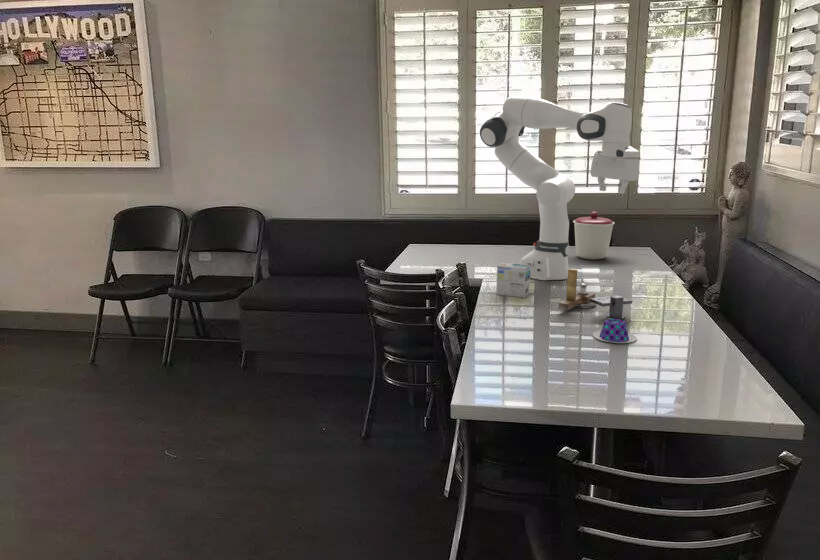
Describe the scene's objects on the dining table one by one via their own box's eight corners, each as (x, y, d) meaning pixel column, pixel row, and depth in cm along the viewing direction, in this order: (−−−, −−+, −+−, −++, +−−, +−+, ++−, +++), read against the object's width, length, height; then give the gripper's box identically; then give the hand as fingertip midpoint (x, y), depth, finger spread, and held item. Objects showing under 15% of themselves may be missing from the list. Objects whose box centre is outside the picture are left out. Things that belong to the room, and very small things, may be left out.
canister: (579, 252, 312) (582, 207, 307) (617, 256, 302) (621, 211, 297) (564, 258, 298) (567, 212, 293) (603, 263, 288) (607, 215, 283)
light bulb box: (530, 293, 236) (531, 264, 233) (524, 298, 230) (526, 268, 227) (501, 290, 240) (502, 261, 238) (495, 294, 234) (496, 265, 232)
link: (578, 296, 226) (580, 262, 223) (594, 299, 222) (597, 265, 219) (553, 307, 212) (555, 271, 209) (570, 311, 208) (573, 274, 206)
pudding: (583, 335, 191) (584, 317, 190) (616, 330, 195) (617, 313, 194) (611, 347, 180) (613, 329, 179) (645, 342, 185) (647, 324, 184)
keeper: (588, 314, 210) (590, 293, 208) (617, 311, 214) (618, 290, 212) (604, 322, 202) (606, 300, 201) (633, 318, 206) (635, 296, 204)
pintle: (564, 305, 221) (565, 284, 219) (574, 299, 228) (575, 279, 226) (590, 309, 216) (592, 288, 214) (599, 303, 223) (601, 283, 221)
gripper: (587, 150, 232) (584, 189, 235) (629, 152, 214) (625, 195, 217) (602, 150, 234) (598, 189, 238) (644, 152, 216) (640, 194, 220)
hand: (611, 192), depth 227 cm, fingers open, 8 cm apart
